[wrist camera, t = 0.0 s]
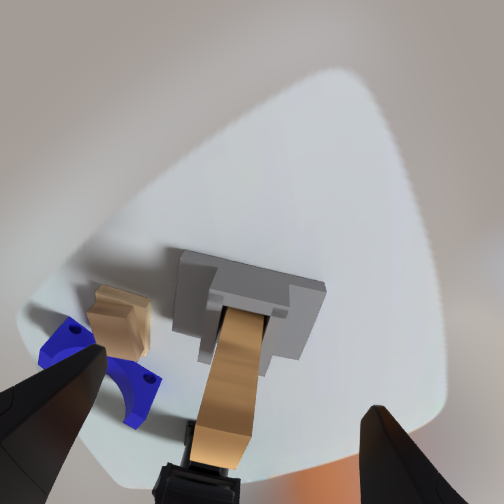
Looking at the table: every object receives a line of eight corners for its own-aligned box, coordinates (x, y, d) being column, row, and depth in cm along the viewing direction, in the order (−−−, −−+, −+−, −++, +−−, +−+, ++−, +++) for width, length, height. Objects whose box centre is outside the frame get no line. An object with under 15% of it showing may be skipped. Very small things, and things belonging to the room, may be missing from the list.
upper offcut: (144, 349, 26) (137, 361, 25) (108, 343, 27) (100, 354, 25) (133, 306, 24) (125, 318, 23) (95, 301, 25) (86, 312, 23)
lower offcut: (151, 344, 29) (144, 357, 27) (108, 330, 29) (99, 341, 27) (153, 295, 26) (145, 308, 24) (105, 281, 26) (95, 292, 24)
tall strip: (253, 337, 24) (235, 470, 13) (223, 330, 24) (189, 459, 13) (265, 297, 23) (251, 436, 12) (232, 289, 23) (195, 424, 12)
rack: (298, 348, 26) (299, 385, 22) (177, 320, 26) (161, 353, 22) (324, 282, 23) (332, 315, 19) (185, 249, 23) (166, 277, 19)
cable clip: (63, 338, 30) (37, 371, 24) (70, 315, 28) (40, 349, 22) (148, 395, 32) (131, 434, 26) (162, 377, 30) (145, 419, 24)
